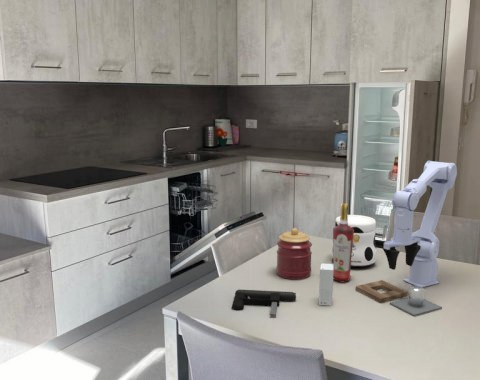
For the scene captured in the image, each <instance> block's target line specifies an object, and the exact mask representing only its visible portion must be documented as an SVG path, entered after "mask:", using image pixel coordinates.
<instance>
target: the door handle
mask: <svg viewBox="0 0 480 380" xmlns="http://www.w3.org/2000/svg"><path fill="white" fill-rule="evenodd" d="M295 301H297V292H294V291H279V290H277V291H276V290H257V289H256V290H255V289H237V290H235V293H234V298H233V301H232V303H231V309H232V310H234V311H242V310H243V309H245V306H253V307H254V306H255V307H256V306H259V307H260V306H261V307H270V314H269V315H270V317H269V318H270V319H271V318H273V319H274V318H275V319H276V318H277V310H278V308H279V307H280V302H295Z"/></svg>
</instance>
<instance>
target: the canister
mask: <svg viewBox="0 0 480 380" xmlns="http://www.w3.org/2000/svg"><path fill="white" fill-rule="evenodd" d="M278 237H279V240H278V241H277V242H276V246H277V250H276V274H277V275H278V276H279V277H280V278H283V279H288V280H303V279H306V278H309V277H310V276H311V273H312V255H313V254H312V252H313V251H312V250H311V247H312V245H313V243H312V242H311V241H310V239H311V238H310V236H309V235H307V234H306V233H305V232H303V231H299V229H298V228H296V227H294V228H291V231H290V230H289V231H285V232H284V233H282V234H280V235H279V236H278Z"/></svg>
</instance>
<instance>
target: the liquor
mask: <svg viewBox="0 0 480 380" xmlns="http://www.w3.org/2000/svg"><path fill="white" fill-rule="evenodd" d="M348 212H349V203H346V202H345V203H344V202H343V203H340V215H339V216H340V224H339V225H338V226H336V227H335V226H334V227H333V228H332V247H333V255H332V259H333V263H332V264H333V265H334V271H333V280H335V281H337V282H339V283H340V282H341V283H345V282H348V281H349V280H350V279H352V276H351V268H352V267H351V256H352V247H353V236H354V229H353V228H352V227H350V226H348V216H347V215H348Z"/></svg>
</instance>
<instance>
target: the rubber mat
mask: <svg viewBox="0 0 480 380" xmlns="http://www.w3.org/2000/svg"><path fill="white" fill-rule="evenodd" d="M408 300H409V297H405V298H403V299H402V298H401V299H397V300H395V301H394V300H393V301H389V305H391V306H392V307H394V308H396V309H398V310H400V311H403V312H404V313H406V314H407V315H408V314H409V316H412V317H417V316H422V315H425V314H429V313H432V312H435V311H439V310H442V309H443V306H441V305H440V304H439V305H438V304H436V303H434V302H432V301H430V300H428V299H425V298H424V300H423V307H420V308H416V307H412V306H410V305H409V304H408Z"/></svg>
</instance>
